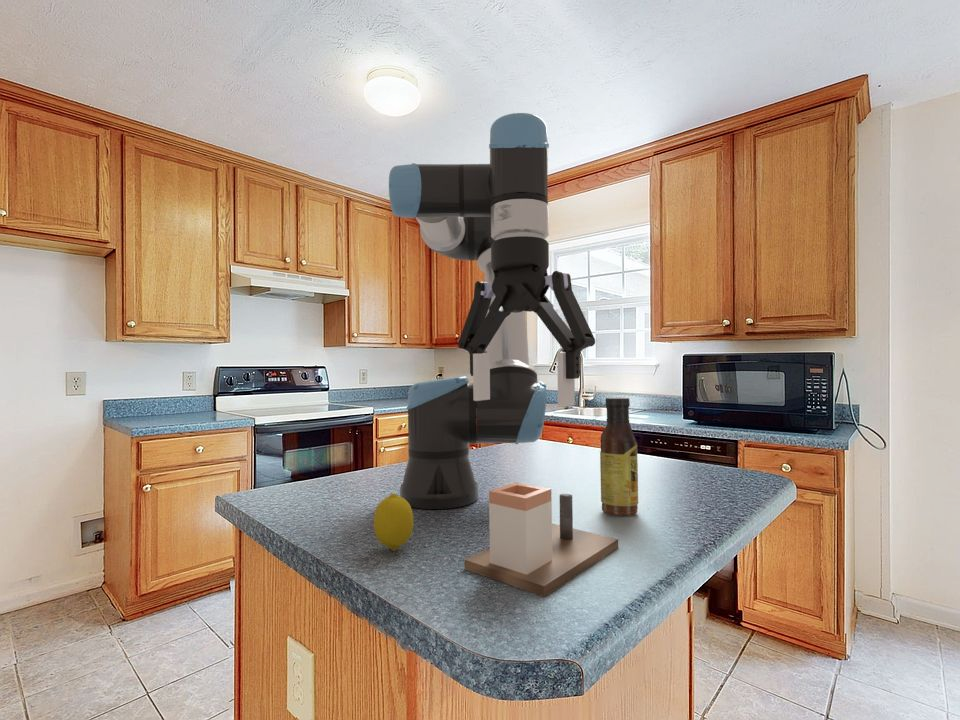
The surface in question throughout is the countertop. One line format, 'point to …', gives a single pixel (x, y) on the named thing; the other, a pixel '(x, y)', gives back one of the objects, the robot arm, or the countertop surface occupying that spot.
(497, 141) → the robot arm
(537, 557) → the sleeve
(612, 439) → the sauce bottle
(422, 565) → the countertop surface
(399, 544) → the lemon
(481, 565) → the pin board
